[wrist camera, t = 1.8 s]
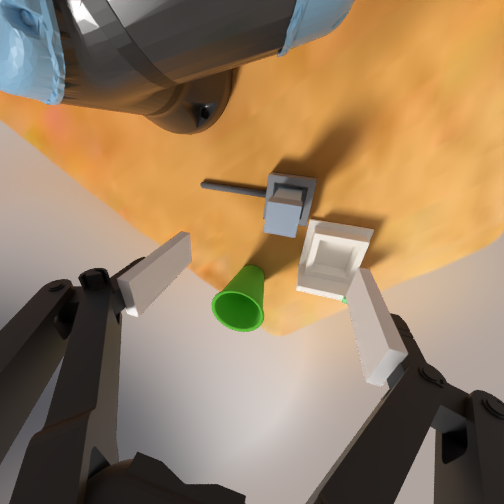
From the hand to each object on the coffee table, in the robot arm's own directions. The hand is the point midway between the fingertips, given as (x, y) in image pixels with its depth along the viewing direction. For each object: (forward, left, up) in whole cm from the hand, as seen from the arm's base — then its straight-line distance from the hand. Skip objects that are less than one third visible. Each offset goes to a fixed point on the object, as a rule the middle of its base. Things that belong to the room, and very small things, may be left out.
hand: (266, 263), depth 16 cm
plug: (0, 0, -20) cm, 20 cm away
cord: (0, -9, -21) cm, 23 cm away
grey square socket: (0, 0, -21) cm, 21 cm away
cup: (+17, -5, -21) cm, 27 cm away
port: (+8, +9, -21) cm, 24 cm away
